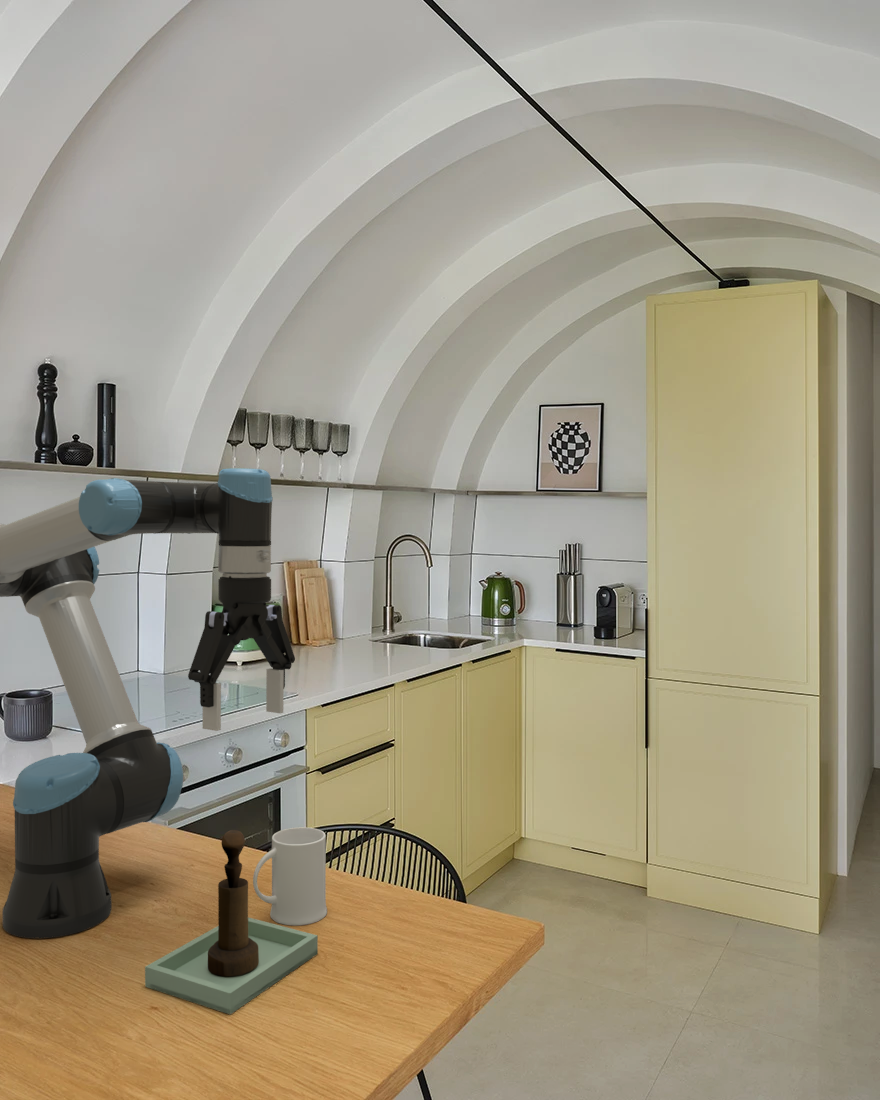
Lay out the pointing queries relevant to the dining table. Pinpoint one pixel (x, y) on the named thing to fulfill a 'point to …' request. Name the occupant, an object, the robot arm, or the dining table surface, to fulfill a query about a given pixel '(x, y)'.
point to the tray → (194, 982)
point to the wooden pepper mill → (233, 917)
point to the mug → (296, 876)
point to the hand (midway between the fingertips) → (244, 720)
